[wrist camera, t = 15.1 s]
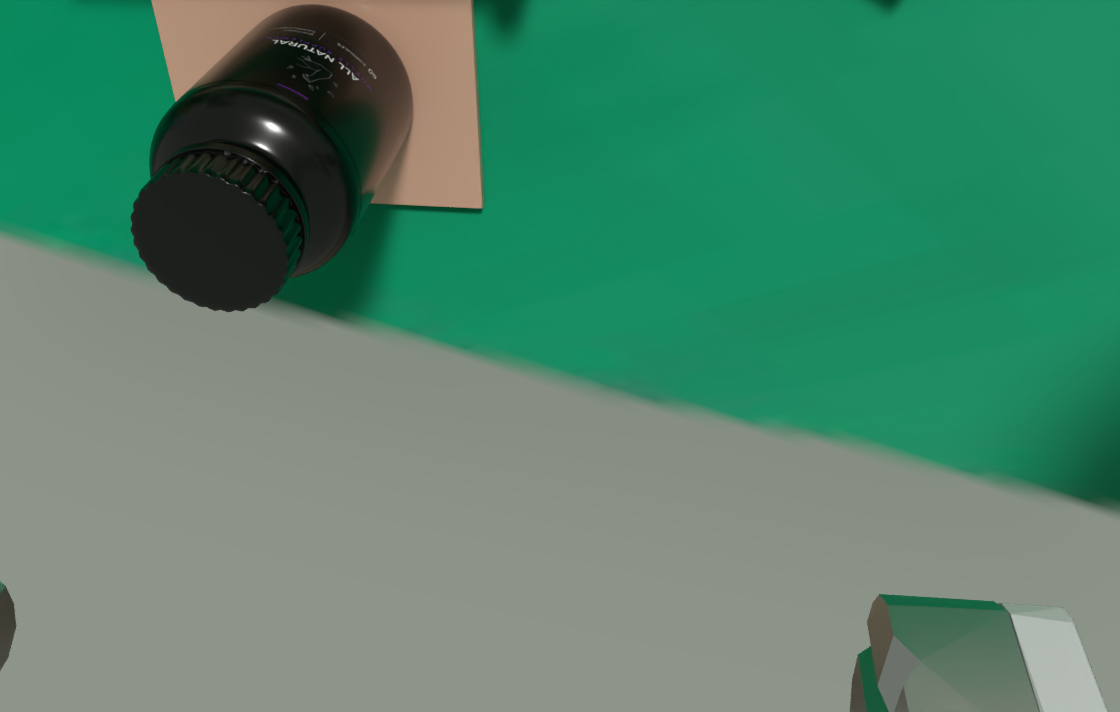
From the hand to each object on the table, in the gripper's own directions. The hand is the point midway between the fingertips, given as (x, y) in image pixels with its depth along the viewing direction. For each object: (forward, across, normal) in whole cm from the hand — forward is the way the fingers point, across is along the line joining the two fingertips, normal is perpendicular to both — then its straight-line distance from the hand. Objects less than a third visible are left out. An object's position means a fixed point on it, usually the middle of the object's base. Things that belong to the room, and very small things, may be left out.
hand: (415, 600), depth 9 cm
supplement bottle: (+31, +11, +8) cm, 34 cm away
